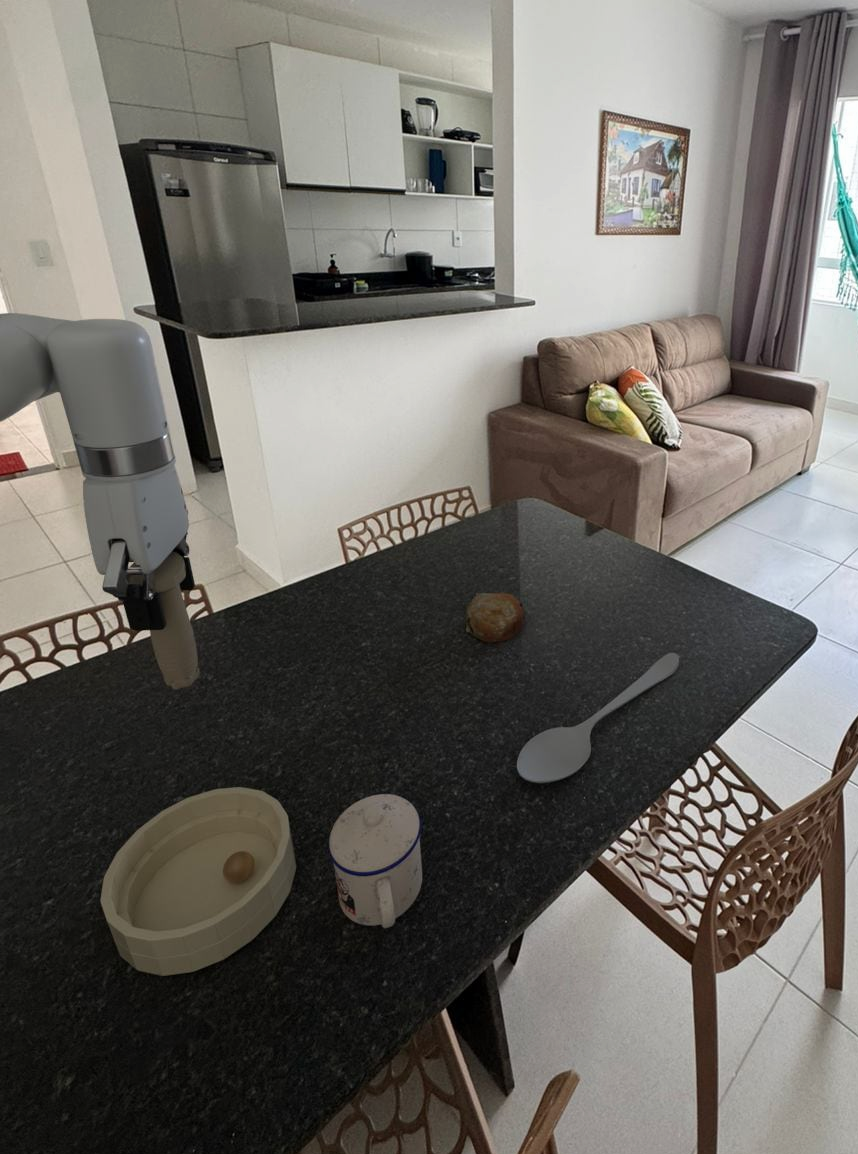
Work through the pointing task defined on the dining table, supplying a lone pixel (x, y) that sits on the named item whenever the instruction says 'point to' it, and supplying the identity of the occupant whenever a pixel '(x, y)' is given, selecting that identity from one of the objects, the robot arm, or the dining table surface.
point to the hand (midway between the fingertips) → (164, 606)
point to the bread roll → (494, 617)
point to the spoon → (580, 733)
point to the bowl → (198, 881)
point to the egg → (238, 867)
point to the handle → (173, 625)
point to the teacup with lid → (377, 859)
